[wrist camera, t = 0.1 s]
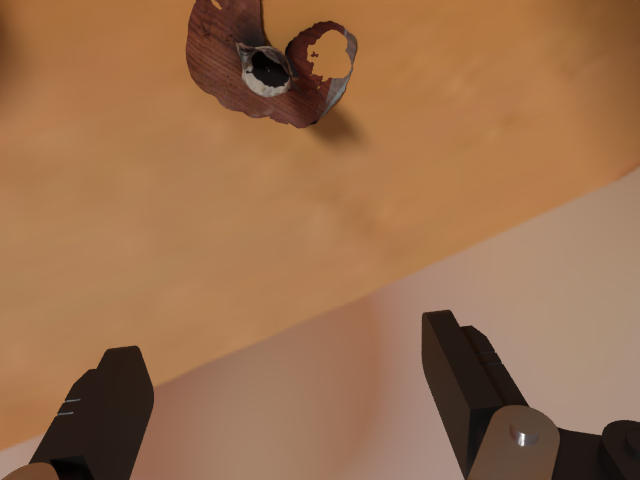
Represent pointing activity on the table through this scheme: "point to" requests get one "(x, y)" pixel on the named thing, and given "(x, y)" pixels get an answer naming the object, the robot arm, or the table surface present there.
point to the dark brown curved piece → (259, 64)
